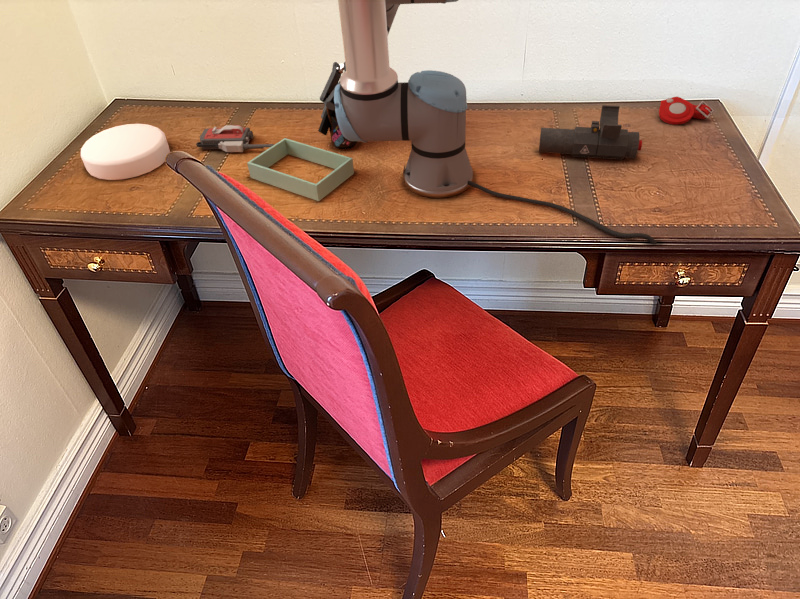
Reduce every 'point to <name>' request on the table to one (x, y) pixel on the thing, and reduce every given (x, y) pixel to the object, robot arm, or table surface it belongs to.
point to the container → (125, 151)
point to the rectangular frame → (296, 185)
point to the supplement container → (337, 129)
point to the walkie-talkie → (228, 139)
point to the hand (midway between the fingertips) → (334, 136)
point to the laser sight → (593, 139)
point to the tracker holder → (682, 111)
